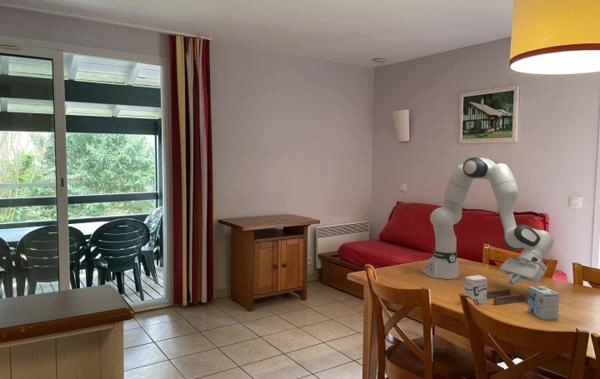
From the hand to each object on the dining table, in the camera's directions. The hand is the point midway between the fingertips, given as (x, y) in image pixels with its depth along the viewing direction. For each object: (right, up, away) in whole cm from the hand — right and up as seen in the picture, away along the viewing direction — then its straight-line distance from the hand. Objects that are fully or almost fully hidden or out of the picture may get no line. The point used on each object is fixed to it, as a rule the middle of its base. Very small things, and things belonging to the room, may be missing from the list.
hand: (511, 283), depth 197 cm
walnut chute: (-5, -7, -1) cm, 9 cm away
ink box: (-18, -8, -5) cm, 21 cm away
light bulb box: (+3, -9, -21) cm, 23 cm away
